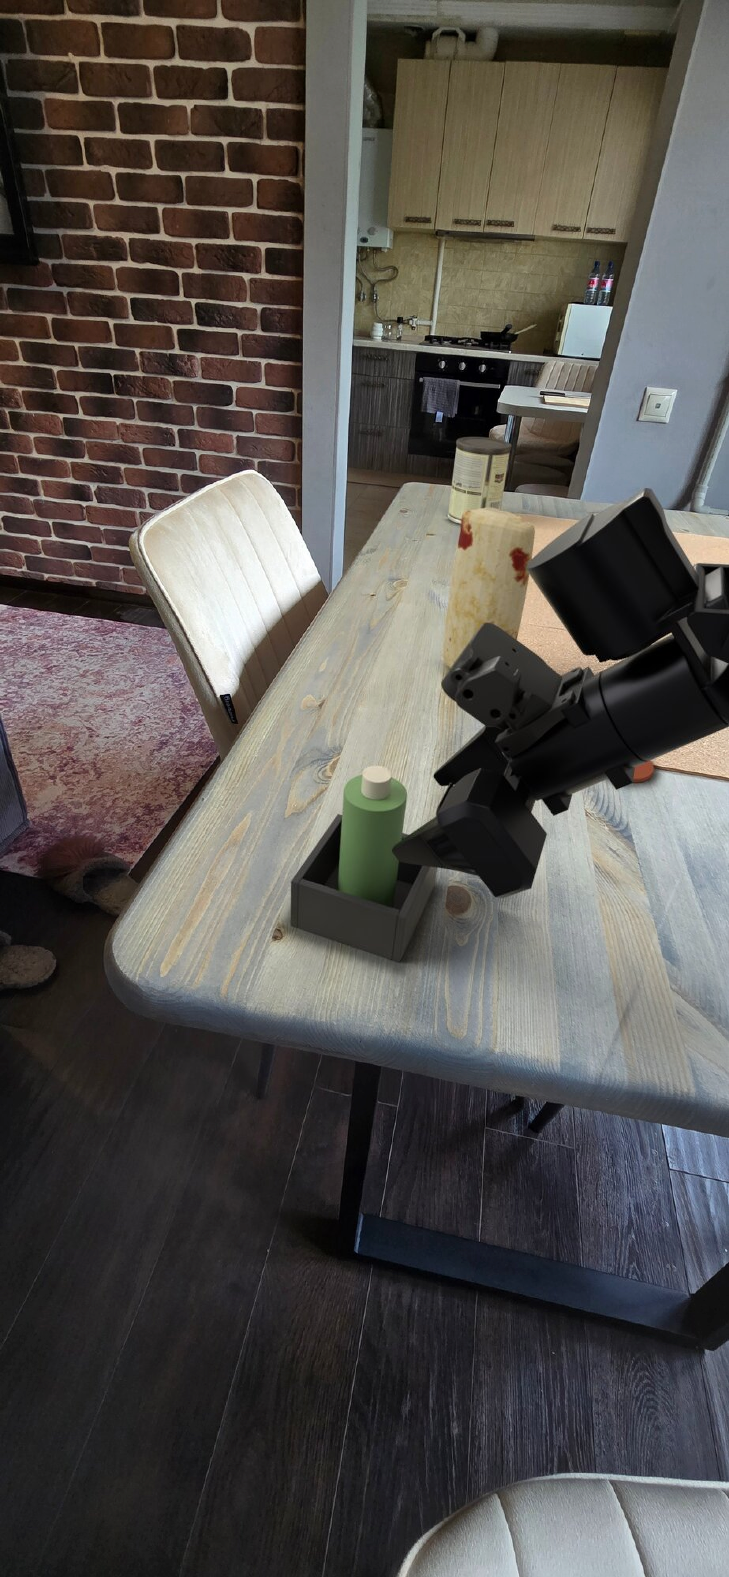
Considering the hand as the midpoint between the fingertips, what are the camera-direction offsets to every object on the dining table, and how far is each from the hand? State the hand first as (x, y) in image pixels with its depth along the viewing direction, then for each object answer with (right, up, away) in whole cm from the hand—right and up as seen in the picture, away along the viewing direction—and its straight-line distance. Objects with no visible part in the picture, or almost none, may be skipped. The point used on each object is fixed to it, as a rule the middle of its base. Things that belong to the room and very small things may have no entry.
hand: (417, 814), depth 51 cm
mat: (+23, +4, +26) cm, 35 cm away
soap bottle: (-4, -7, +7) cm, 11 cm away
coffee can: (+18, +55, +96) cm, 112 cm away
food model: (+10, +15, +40) cm, 44 cm away
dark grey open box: (-4, -8, +7) cm, 11 cm away
